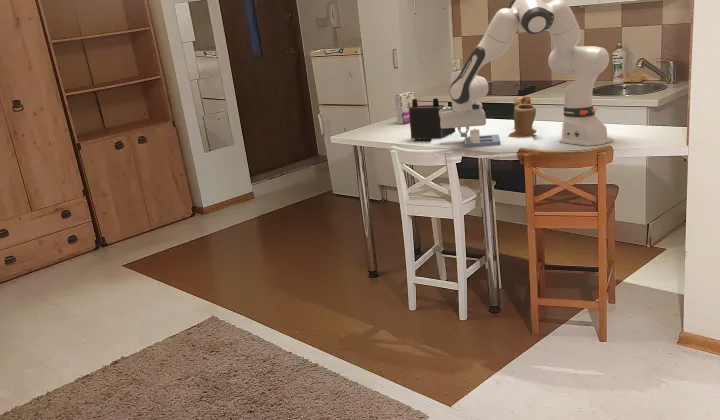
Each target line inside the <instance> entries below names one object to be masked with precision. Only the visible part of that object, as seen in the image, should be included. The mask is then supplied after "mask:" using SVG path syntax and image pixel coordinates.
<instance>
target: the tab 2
mask: <svg viewBox="0 0 720 420" xmlns="http://www.w3.org/2000/svg"><path fill="white" fill-rule="evenodd" d="M469 136H470V143H471V142H480V136H481V135H480V132H479V133H476V132H474V133H471V134H470V133H469Z"/></svg>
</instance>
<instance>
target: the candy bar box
mask: <svg viewBox="0 0 720 420" xmlns="http://www.w3.org/2000/svg"><path fill="white" fill-rule="evenodd" d="M412 99H416V97H415V92H412V91H409V92H408V91H407V92H403V93H399V94H395V95H394V101H395V110H396V111H395V112H396V120H397V121H396V122H397V124H398V125H403V126H405V125H407V124H410V117H409V108H410V107H412Z"/></svg>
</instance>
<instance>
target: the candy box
mask: <svg viewBox="0 0 720 420" xmlns="http://www.w3.org/2000/svg"><path fill="white" fill-rule="evenodd" d="M520 104H530V105H532V96H531V95H523V96H520V97H519V96H518V97H515V98H513V106H514V107H513V109H515V107H516V106H517V105H520ZM513 123H514V124H513V127H514V128H513V129H514V131H515V130H516V127H515V122H514V121H513Z"/></svg>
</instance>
